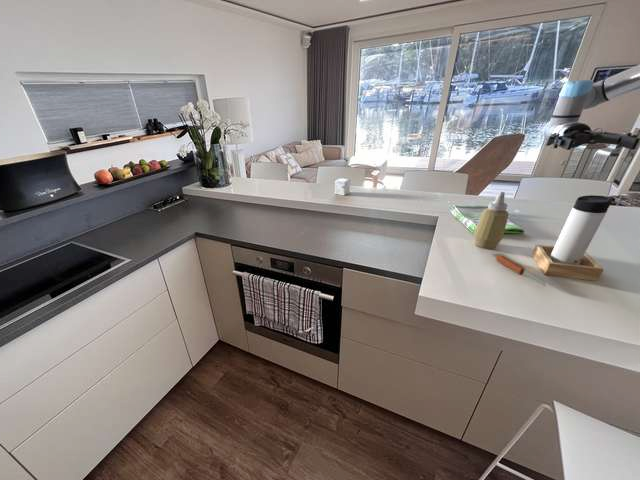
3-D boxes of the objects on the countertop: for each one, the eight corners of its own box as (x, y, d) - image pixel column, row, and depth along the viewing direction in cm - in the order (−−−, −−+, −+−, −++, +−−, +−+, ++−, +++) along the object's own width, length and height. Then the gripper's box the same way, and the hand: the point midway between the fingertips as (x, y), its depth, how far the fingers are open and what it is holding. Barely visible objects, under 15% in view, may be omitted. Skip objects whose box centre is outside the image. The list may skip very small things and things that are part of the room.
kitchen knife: (494, 260, 87) (496, 254, 86) (498, 259, 88) (500, 254, 87) (541, 289, 74) (544, 282, 73) (546, 288, 74) (549, 282, 73)
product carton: (334, 194, 157) (334, 180, 153) (340, 191, 161) (340, 177, 157) (344, 195, 153) (344, 181, 150) (349, 192, 157) (350, 179, 154)
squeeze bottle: (494, 240, 98) (512, 188, 89) (503, 251, 92) (523, 196, 82) (468, 239, 100) (482, 188, 91) (474, 249, 94) (491, 196, 85)
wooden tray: (531, 254, 89) (535, 244, 87) (577, 259, 85) (583, 248, 83) (544, 274, 79) (549, 263, 77) (597, 281, 75) (603, 269, 73)
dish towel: (491, 211, 120) (494, 203, 119) (525, 234, 101) (529, 224, 99) (448, 212, 123) (450, 204, 121) (472, 234, 103) (475, 225, 101)
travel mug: (580, 272, 78) (619, 201, 68) (549, 267, 81) (581, 198, 71) (575, 262, 82) (611, 194, 72) (545, 257, 85) (576, 191, 75)
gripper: (614, 146, 94) (656, 158, 77) (521, 147, 103) (541, 158, 86) (627, 120, 90) (674, 128, 73) (529, 123, 99) (551, 131, 82)
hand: (602, 144), depth 80 cm, fingers open, 13 cm apart
